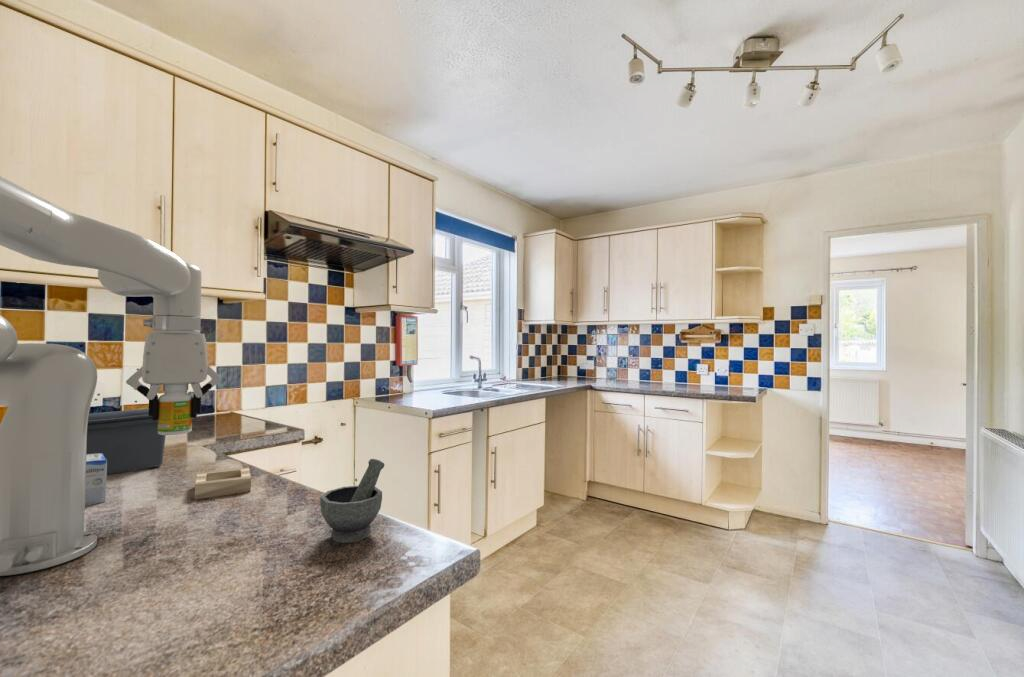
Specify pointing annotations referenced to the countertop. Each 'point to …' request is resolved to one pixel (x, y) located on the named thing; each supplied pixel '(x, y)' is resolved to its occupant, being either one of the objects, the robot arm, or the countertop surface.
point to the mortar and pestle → (353, 506)
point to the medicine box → (95, 479)
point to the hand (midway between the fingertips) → (175, 417)
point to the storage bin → (125, 440)
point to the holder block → (222, 482)
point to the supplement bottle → (175, 410)
